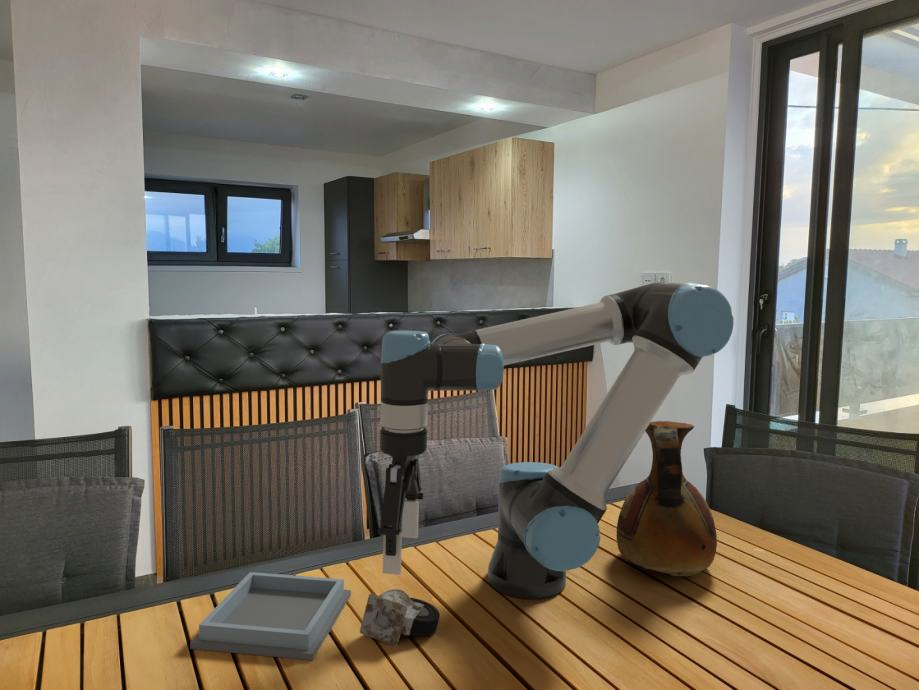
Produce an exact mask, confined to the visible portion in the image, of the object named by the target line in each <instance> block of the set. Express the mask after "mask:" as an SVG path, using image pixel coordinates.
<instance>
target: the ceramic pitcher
mask: <svg viewBox="0 0 919 690" xmlns="http://www.w3.org/2000/svg"><path fill="white" fill-rule="evenodd" d="M693 429H695V425H693V424H692V423H686V422H677V421H669V420H663V421H662V420H655V421H651V422H650V424H649V425H648V427H647V429H646V430H645V432H644V433H645V434H647V436H648V438H649V441H650V444H651V451H652V463H651V469H650V471H649V475H648V476H647V477H646V478H645V479H643V480H641V481H640V482H639V483H638V484H636V485H635V486H634V488H633V489H632V490H630V491H629V493H628V495H627V496H626V497H625V499H624V502H623V504H622V506H621V509H620V511H619V513H618V517H617V518H618V519H617V524H616V543H617V549H618V551H619V553H620V555H622V557H624V558H625V559H626V560H629V561H630V562H632V563H633V564H635V565H637V566H640V567H643V568H644V569H647V570H652V571H656V572H659V573H665V574H668V575H671V576H674V577H689V576H694V575H697V574H699V573H701V572H703V571H705V570H706V569H708V568H710V566H711V565H712V563H713V562H714V560H715V558H716V557H715V556H716V552H717V547H718V541H717V540H718V538H717V537H718V536H717V530H716V524H715V520H714V517H713V513H712V511H711V509H710V507H709V505H708V502H707V500H706V499H705V498H704V496H703V495H702V493H701V492H700V491H699V490H698V489H697V487H695V486H694V485H693V484H692V483H691V482H690V481H688V480H687V478H686V477H685V476H684V475H685V474H684V473H683V465H682V455H681V454H682V445H683V442H684V440H685V437H687V436H688V434H689V433H690V432H691V431H692V430H693Z"/></svg>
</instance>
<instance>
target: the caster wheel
mask: <svg viewBox="0 0 919 690" xmlns="http://www.w3.org/2000/svg"><path fill="white" fill-rule="evenodd" d="M440 614H441V613H440V611H439V610H438V609H437V608H436V607H435V606H434V605H433V604H431V603H429V602H427V601H426V600H423V599H420V598H415V597H410V596H409V594H408V593H407V592H405V591H404V590H402V589H397V588H393V589H389V590H387V591H383V592H382V593H380V594H379V595H376V594H374V593H369V594H368V598H367V602H366V606H365V609H364V613H363V616H362V620H361V625H360V627H359V628H360V629H359V633H360V634H363V635H365V636H367V637H370V638H373V639H374V640H377V641H380V642H382V643H385V644H388V645H390V646H392V647H393V646H394V647H398V646H399V645H398V644H399V642H400V637H401V635H404V636H410V635H414V636H421V637H422V636H430V635H433V634H434V633H436V631H437V629H438V625H439V621H440V618H441V617H440V616H441V615H440Z"/></svg>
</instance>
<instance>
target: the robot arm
mask: <svg viewBox="0 0 919 690" xmlns="http://www.w3.org/2000/svg"><path fill="white" fill-rule="evenodd" d="M734 324H735V323H734V315H733V313H732V306H731V304H730V302H729V300H728V299H727V297H726V296H725V295H724V294H723V293H722V292H721V291H720V290H718V289H717V288H715V287H713V286H711V285H706V284H702V283H698V282H686V283H678V282H665V281H660V282H658V281H657V282H652V283H648V284H644V285H641V286H637V287H633V288H631V289H628V290H623V291H620V292H617V293H611V294H608V295H604V296H603V297H601V299H600V301H599V302H597V303H592V304H588V305H584V306H579V307H573V308H570V309H565V310H560V311H556V312H551V313H547V314H542V315H538V316H534V317H533V316H532V317H529V318H525V319H520V320H515V321H510V322H506V323H502V324H497V325H493V326H488V327H484V328H479V329H475V330H471V331H466V332H461V333H456V334H455V333H443V334H440V335H438V336H437V337H436V338H434V339H433V340H432V341H431V340H430V336H429V334H428V333H427V332H426V331H419V330H408V329H407V330H391V331H388V332H386V333H385V334H384V335H383V337H382V341H381V342H382V343H381V357H380V405H378V406H377V408H376V410H377V411H378V412H380V413H381V414H380V425H381V426H382V427H381V429H380V431H379V449H380V451H381V452H382V454H385V455H389V456H391V463H389V464H388V467H386V469H385V484H384V492H383V501H382V510H381V517H380V518H381V519H380V526H379V528H377V535H378V534H379V535H381V536H382V537H383V538H382V539H383V540H382V541H383V543H382V574H386V575H399V576H400V575H401V573H402V545H403V544H402V543H403V542H402V540H403V538H406V539H407V538H408V539H418V537H419V506H420V502H419V501H420V500H421V501H422V500H424V493H423V492H421V491H422V483H421V482H422V481H421V472H420V462H419V456H420V455H422V454H424V453H425V452H426V451H427V448H428V447H427V446H428V429H426V428H425V427H427V426H428V424H429V423H428V422H429V421H428V420H429V415H428V414H429V398H428V396H429V392H430V391H434V392H435V391H437V392H438V391H454V392H455V391H459V392H460V391H462V392H463V391H465V392H466V391H467V392H468V391H473V392H474V391H477V392H483V391H491V390H497V389H499V387H501V385H502V382H503V379H504V371H505V370H504V369H505V366H507V365H512V364H517V363H520V362H525V361H529V360H535V359H538V358H543V357H547V356H551V355H555V354H560V353H563V352H568V351H572V350H577V349H581V348H586V347H590V346H594V345H599V344H602V343H607V342H608V343H609V344H611V345H613V346H618V345H622V344H628V343H629V344H630V343H633V347H634V350H633V352H632V354H631V355H630V357H629V359H628V360H627V362H626V363H625V365H624V367H623V368H622V370H621V371H620V373H619V374H618V376H617V377H616V380H615V381H614V383H613V385H612V386H611V388H610V389H609V391H608V392H607V393H606V395H605V396H604V398H603V400H602V401H601V403H600V405H599V406H598V408H597V409H596V411H595V413H594V414H593V416H592V418H591V419H590V421H589V422H588V424H587V426H586V427H585V429H584V430H583V432H582V434H581V435H580V436H579V438H578V440H577V441H576V443H575V445H574V446H573V447H572V449H571V451H570V453H569V454H568V455H567V457H566V459H565V461H564V462H563V464H562V465H561V466H560V467H558V465H555V464H552V463H546V462H537V461H536V462H533V461H527V462H526V461H525V462H524V461H523V462H512V463H509V464H505V465H504V466H502V467H501V469H500V471H499V477H498V481H497V485H498V509H497V510H498V511H497V513H498V517H497V519H498V520H497V540H496V545H495V547H494V550H493V552H492V554H491V558H490V560H489V563H488V567H487V580H488V582H489V585H491V587H492V588H494V589H495V590H497V591H498V592H500V593H501V594H505V595H507V596H510V597H513V598H519V599H527V600H529V599H530V600H533V599H534V600H537V599H544V598H549V597H553V596H555V595H557V594H559V593H560V592H562V591H563V590H564V589H565V587H566V583H567V572H568V571H570V570H576V569H579V568H580V567H582V566H584V565H585V564H587V563H588V562H589V561H590V560H591V559H592V558H593V556H595V554H596V552H597V550H598V549H599V545H600V542H601V533H600V526H599V523H600V521H601V520H602V518H603V516H604V515H605V514H606V511H607V509H608V507H607V501H606V494H607V492H608V491H609V489H610V488H611V487H612V484H613V483H614V481H615V480H616V478H617V476H618V475H619V473H620V472H621V470H622V468H623V467H624V465H625V464H626V462H627V460H628V459H629V458H630V456H631V454H632V453H633V451H634V450H635V447H636V446H637V444H638V443H639V441H640V440H641V438H642V436H643V435H644V433H646V432H645V430H646V429H647V427H648V425H649V424H650V422H653V419H654V418H655V416H656V415H657V414H658V411H659V409H660V407H661V406H662V404H663V403H664V401H665V400H666V399H667V398H668V395H669V394H670V392H671V390H672V389H673V387H674V386H675V384H676V383H677V381H678V379H679V378H680V377H682V376H686V375H690V374H693V373H694V371H695V370H696V368H697V366H698V365H699V364H700V362H701V360H702V359H703V357H708V356H709V357H710V356H712V355H715V354H717V353H718V352H720V351H722V350H723V349H724V348H725V346H726V345H727V344H728V343H729V340H730V339H731V337H732V334H733V330H734Z"/></svg>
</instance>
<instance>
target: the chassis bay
mask: <svg viewBox="0 0 919 690" xmlns="http://www.w3.org/2000/svg"><path fill="white" fill-rule="evenodd" d="M350 597H352V590H351V589H345V579H343V578H332V577H319V576H306V575H293V574H292V575H291V574H280V573H279V574H278V573H266V572H254V571H250V572H248V574H246V575H245V577H243V579H241V581H240V582H239V583H238V584H237V585H236V586H235V587H234V588H233V589H232V590H231V591H230V592H229V593H228V594H227V595H226V596H225V597H224V598H223V599H222V600H221V601H220V603H218V605H217V606H216V607H215V608H214V609H213V610H212V611H211V612H209V614H208V615H207V616H206V617H205V618H204V619H203V620H202V621H201V622H200V623H199V624H198V634H197V635H196V636H195V637H194V638H193V639H192V640H191V641H190V643H189V647H190V650H199V651H210V652H211V651H212V652H222V653H231V654H241V655H242V654H243V655H253V656H263V657H275V658H285V659H286V658H287V659H295V660H306V661H314V659H315V657H316V655H317V653H318V652H319V650H320V649H321V647H322V645H323V644H324V642H325V640H326V639H327V637H328V635H329V633H330V632H331V630H332V629H333V626H334V625H335V623H336V621H337V619H338V618H339V616H340V615H341V613H342V611H343V609H344V608H345V606H346V604H347V602H348V600H350Z"/></svg>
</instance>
